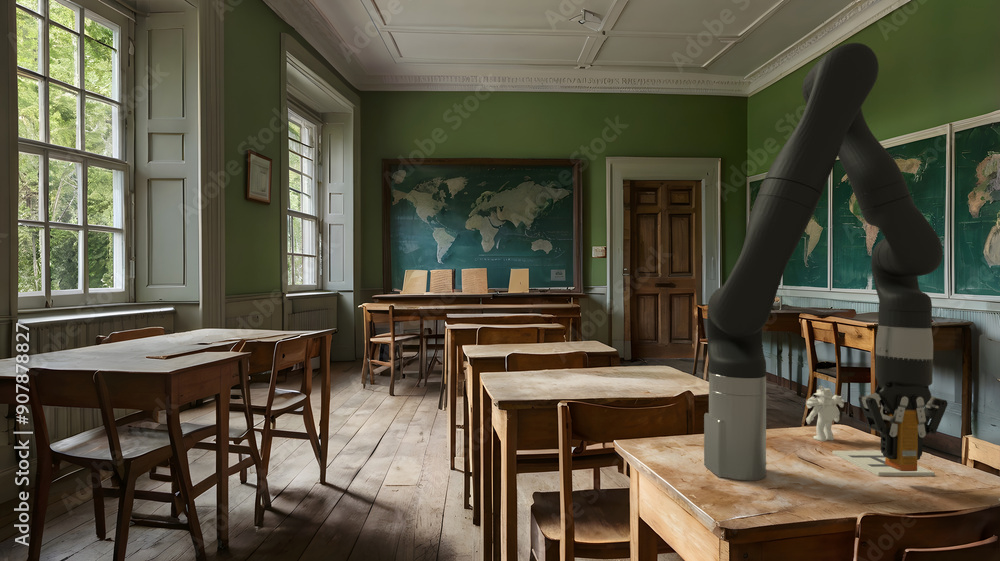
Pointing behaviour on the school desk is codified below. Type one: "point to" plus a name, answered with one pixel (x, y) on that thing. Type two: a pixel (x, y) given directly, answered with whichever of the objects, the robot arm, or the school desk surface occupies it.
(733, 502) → the school desk surface
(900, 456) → the supplement box
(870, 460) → the letter pad
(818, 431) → the white toy figure
